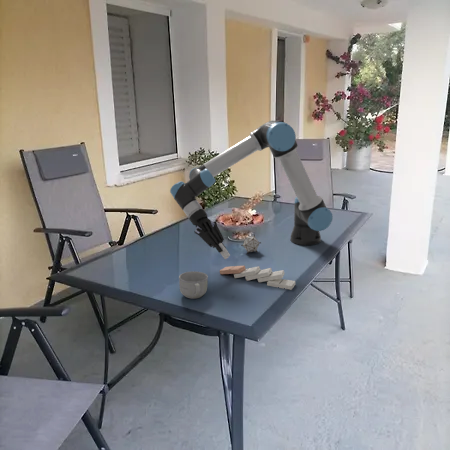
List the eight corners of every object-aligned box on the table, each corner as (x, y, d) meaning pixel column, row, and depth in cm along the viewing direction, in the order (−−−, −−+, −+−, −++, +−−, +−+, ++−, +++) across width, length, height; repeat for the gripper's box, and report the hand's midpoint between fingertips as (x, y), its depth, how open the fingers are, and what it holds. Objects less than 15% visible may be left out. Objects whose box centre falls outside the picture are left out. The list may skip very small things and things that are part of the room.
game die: (254, 260, 208) (259, 248, 200) (237, 253, 209) (241, 241, 201) (259, 246, 214) (264, 234, 206) (243, 239, 215) (247, 227, 207)
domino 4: (257, 278, 175) (281, 274, 171) (260, 274, 179) (283, 269, 176) (258, 282, 175) (282, 278, 171) (261, 278, 180) (284, 273, 176)
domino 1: (219, 270, 184) (237, 269, 178) (226, 266, 188) (244, 265, 182) (220, 274, 185) (238, 273, 178) (227, 270, 188) (245, 269, 182)
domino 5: (267, 282, 172) (291, 285, 168) (271, 277, 176) (295, 280, 172) (267, 286, 173) (291, 290, 168) (271, 281, 177) (295, 284, 172)
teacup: (180, 290, 171) (179, 271, 169) (208, 288, 172) (207, 269, 170) (179, 306, 158) (178, 286, 155) (209, 304, 159) (208, 284, 156)
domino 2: (233, 274, 180) (254, 270, 175) (238, 270, 184) (259, 266, 179) (234, 278, 180) (256, 274, 175) (239, 273, 184) (260, 269, 179)
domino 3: (245, 277, 177) (268, 271, 173) (248, 272, 181) (271, 267, 177) (246, 280, 177) (269, 275, 173) (250, 276, 181) (272, 271, 177)
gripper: (201, 214, 196) (231, 257, 191) (181, 222, 186) (213, 266, 181) (209, 205, 191) (241, 247, 186) (189, 211, 181) (222, 257, 177)
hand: (227, 257), depth 184 cm, fingers closed
